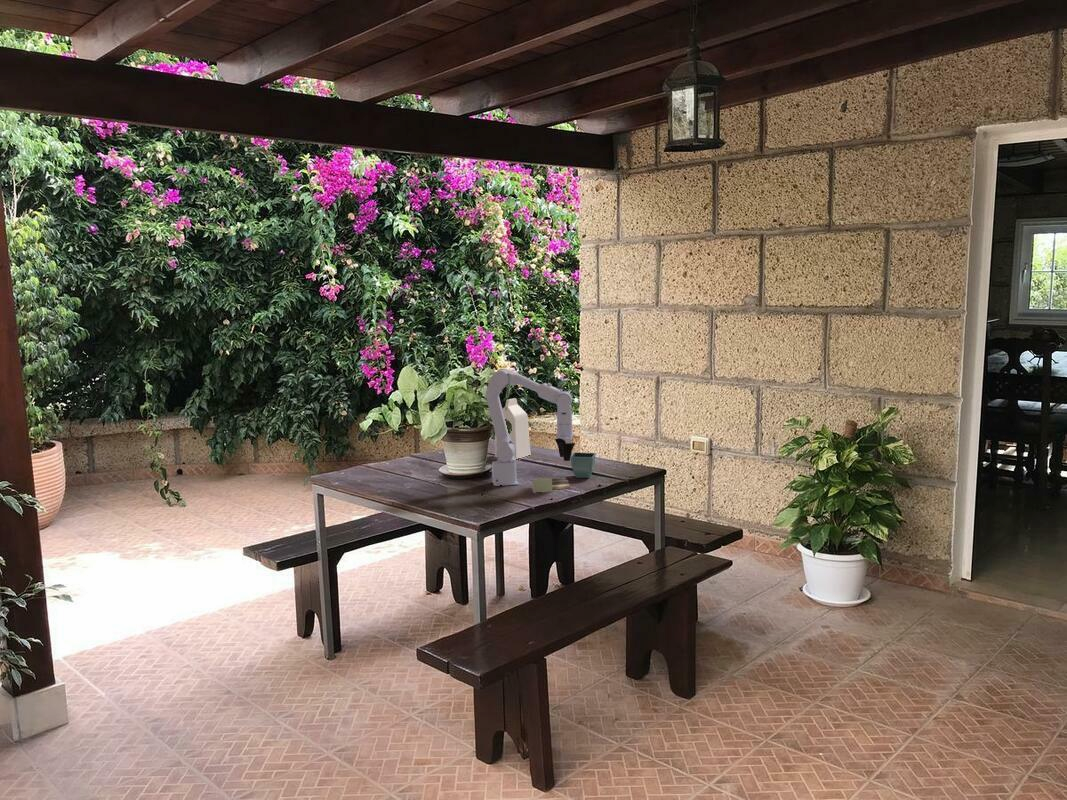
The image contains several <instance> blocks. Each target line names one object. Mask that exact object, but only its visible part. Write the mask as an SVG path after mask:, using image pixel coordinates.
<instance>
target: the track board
mask: <svg viewBox="0 0 1067 800" xmlns="http://www.w3.org/2000/svg"><path fill="white" fill-rule="evenodd" d="M551 478H552V477H551ZM566 489H571V485H570V484H569V480H568V479H567V477H557V478H554V477H553V478H552V490H566Z"/></svg>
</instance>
